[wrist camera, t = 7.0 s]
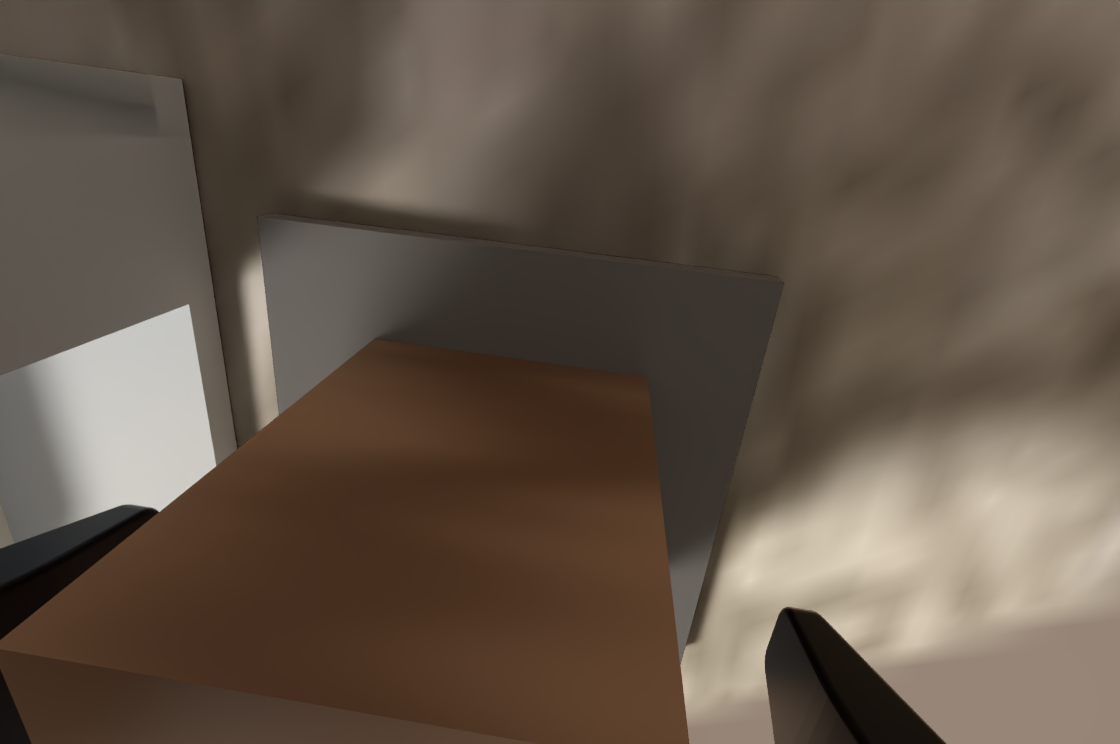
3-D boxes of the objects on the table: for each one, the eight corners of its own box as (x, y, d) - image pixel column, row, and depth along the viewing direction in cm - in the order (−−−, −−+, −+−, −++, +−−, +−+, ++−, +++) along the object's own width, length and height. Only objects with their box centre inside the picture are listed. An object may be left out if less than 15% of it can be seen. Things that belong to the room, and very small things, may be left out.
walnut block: (647, 376, 9) (693, 769, 3) (607, 589, 11) (592, 1075, 5) (374, 339, 9) (-9, 647, 4) (379, 552, 11) (130, 979, 5)
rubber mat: (777, 276, 8) (784, 282, 8) (678, 650, 12) (679, 667, 11) (271, 213, 9) (257, 216, 8) (310, 590, 12) (300, 604, 12)
